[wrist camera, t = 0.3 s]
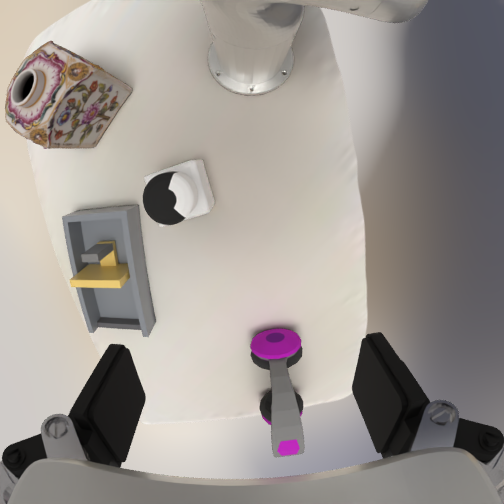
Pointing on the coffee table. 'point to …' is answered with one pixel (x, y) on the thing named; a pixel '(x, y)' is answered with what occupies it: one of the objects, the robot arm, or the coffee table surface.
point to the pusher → (101, 268)
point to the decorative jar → (62, 99)
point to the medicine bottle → (178, 193)
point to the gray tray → (128, 252)
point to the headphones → (280, 389)
